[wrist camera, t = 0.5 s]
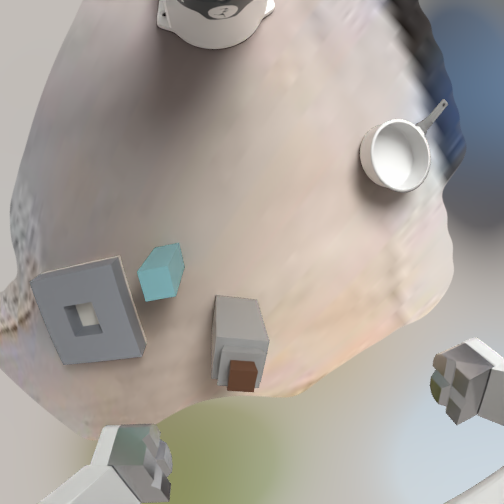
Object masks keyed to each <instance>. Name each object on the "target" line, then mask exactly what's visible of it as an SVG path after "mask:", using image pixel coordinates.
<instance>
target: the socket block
mask: <svg viewBox="0 0 504 504" xmlns="http://www.w3.org/2000/svg"><path fill="white" fill-rule="evenodd" d="M30 285H31V288H32V291H33V293H34V296H35V299H36V302H37V304H38V307H39V310H40V312H41V315H42V317H43V320H44V322H45V325H46V327H47V330H48V332H49V334H50V337H51V339H52V341H53V343H54V346H55V348H56V350H57V352H58V354H59V357H60V359H61V361H62V363H63V365H66V364H79V363H90V362H100V361H109V360H118V359H127V358H135V357H142V355H143V352H144V349H145V346H146V343H147V339H146V336H145V334H144V331H143V328H142V325H141V322H140V319H139V316H138V313H137V310H136V307H135V304H134V301H133V298H132V294H131V291H130V288H129V285H128V281H127V278H126V274H125V271H124V267H123V264H122V260H121V257H120V255H118V256H114V257H109V258H104V259H100V260H95V261H91V262H86V263H82V264H77V265H73V266H69V267H64V268H60V269H55V270H51V271H47V272H43V273H41V274H40V275H38V276H37V277H36V278H34V279H33V280H32V281H30Z"/></svg>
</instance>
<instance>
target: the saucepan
mask: <svg viewBox="0 0 504 504" xmlns="http://www.w3.org/2000/svg"><path fill="white" fill-rule="evenodd" d="M442 104H443V106H442ZM447 105H448V103H447V102H446V101H445V99H443V100H442V101H441V102H440V103H439V104H438V106H437V107H436V108H435V109H434V110H433V111H432V113H431V114H430V115H429V116H428V117H427V118H425V119H424V120H423V121H421V122H419V123H417V124H416V125H414V124H413V123H411V122H409V121H406V120H402V119H394V120H390V121H388V122H386V123H384V124H381V125H377V126H375V127H373V128H371V129H370V130H369V131H368V132H367V133H366V135H365V136H364V138H363V140H362V143H361V147H360V159H361V164H362V167H363V169H364V171H365V173H366V174H367V176H368V177H369V178H370V179H371V180H372V181H373V182H374V183H376V184H377V185H380V186H382V187H387V188H389V189H391V190H393V191H396V192H402V193H403V192H410V191H412V190H415V189H416V188H418V187H419V186H420V185H421V184H422V183H423V182H424V180H425V179H426V177H427V175H428V172H429V168H430V162H431V155H430V149H429V145H428V142H427V140H426V138H425V136H424V135H425V134H426V132H427V129H428V128H429V127H430V126H431V125H432V124H433V122H434V121H435V120H436V119H437V117H438V116H439V115H440V114H441V112H442V111H443V110H444V109H445V108H446V106H447Z"/></svg>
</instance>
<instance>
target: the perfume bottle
mask: <svg viewBox="0 0 504 504" xmlns="http://www.w3.org/2000/svg"><path fill="white" fill-rule="evenodd" d="M268 346H269V338H268V334H267V331H266V328H265V325H264V321H263V318H262V315H261V311H260V308H259V305H258V301H257V300H255V299H246V298H237V297H228V296H219V295H216V301H215V309H214V317H213V325H212V350H211V379H218V382H217V385H220V386H227V391H242V392H254V388H259V384H260V382H261V378H262V374H263V369H264V365H265V360H266V355H267V351H268Z"/></svg>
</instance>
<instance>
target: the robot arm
mask: <svg viewBox="0 0 504 504" xmlns="http://www.w3.org/2000/svg"><path fill="white" fill-rule="evenodd" d="M274 8H275V4H274V1H273V0H159V6H158V14H157V25H158V26H159V27H160V28H162V29H165V30H168V31H172V32H174V33H176V34H177V35H178V36H179V37H180V38H182V39H183V40H184V41H186V42H187V43H189V44H191V45H194V46H197V47H200V48H206V49H221V48H227V47H231V46H234V45H237V44H239V43H241V42H243V41H244V40H246V39H247V38H248V37H250V36H251V35H252V34H253V33H254V32H255V30H256V29H257V27H258V25H259V24H260V22H261V20H262V19H263V18H264V17H266V16H267V15H269V14H270V13H271V12H273V10H274ZM164 14H166V16H163V15H164ZM433 367H434V368H435V369H436V370H435V372H434V373H433V375H432V376H431V381H430V388H431V393H432V395H433V397H434V399H435V400H436V402H437V403H438V404H440V405H444V406H446V413H447V415H448V416H449V417H450V418H451V419H452V420H453V422H454V423H455V424H456V425H458V424H460V423H462V422H464V421H466V420H468V419H470V418H471V417H473V416H475V415H477V414H478V416H480V417H483V418H485V419H488V420H490V421H493V422H495V423H498V424H500V425H503V426H504V358H503V357H502V356H500V355H499V354H498V353H496V352H495V351H494V350H493V349H491V348H490V347H489V346H487V345H486V344H485V343H483V342H482V341H481V340H479V339H478V338H475V337H472V338H470V339H468V340H466V341H464V342H462V343H461V344H458V345H456V346H454V347H452V348H450V349H447V350H445V351H443V352H441V353H438V354H436V356H435V357H434V360H433ZM160 433H161V432H160V431H159V429H158V427H157V425H155V424H133V425H106V426H105V427H104V428H103V429H102V432H101V435H100V437H99V440H98V443H97V446H96V449H95V452H94V455H93V458H92V460H91V464H90V465H85V466H84V467H83V468H81V469H80V470H79V471H78V472H77V473H75V474H74V475H73V476H72V477H70V478H69V479H68V480H67V481H65V482H64V483H63V484H62V485H61V486H59V487H58V488H57V489H55V490H54V491H53V492H52V493H50V494H49V495H48V496H46V497H45V498H44V499H43V500H42V501H40V502H39V503H37V504H141V503H145V502H169V500H170V489H171V483H170V482H169V480H168V479H167V477H168V476H169V475H170V473H172V456H171V453H170V450H169V447H168V445H167V443H166V442H164V441H162V440H161V439H160ZM444 504H504V466H503V467H501V468H500V469H499V470H497V471H496V472H494V473H493V474H491V475H490V476H489V477H487V478H486V479H484V480H483V481H481V482H479V483H478V484H476V485H475V486H473V487H472V488H470V489H468V490H467V491H465V492H463V493H462V494H460V495H458V496H457V497H455V498H453V499H451V500H449V501H447V502H446V503H444Z"/></svg>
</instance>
